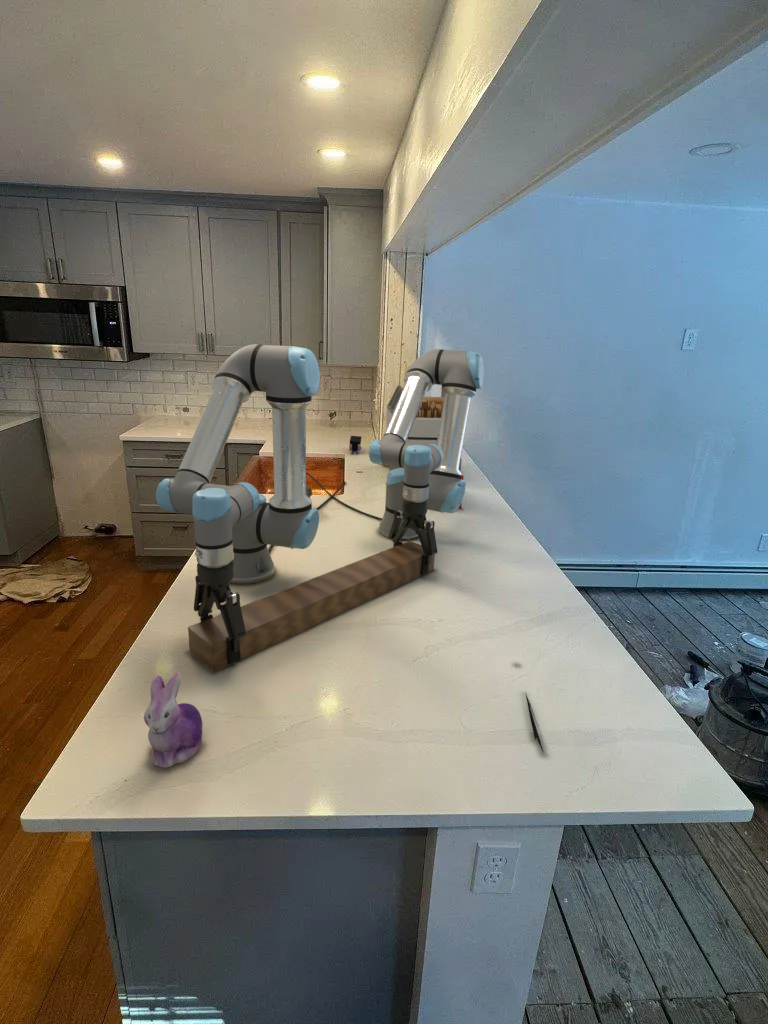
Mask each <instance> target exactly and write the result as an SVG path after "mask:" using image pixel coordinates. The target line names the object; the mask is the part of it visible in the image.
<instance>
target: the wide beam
mask: <svg viewBox="0 0 768 1024" xmlns="http://www.w3.org/2000/svg"><path fill="white" fill-rule="evenodd" d="M422 554H424V551H423V549H422V546H421V543H420V544H419V543H417V542H414V541H412V540H407V541H406V542H403V543H402V544H400V545H398V546H395V547H393V546H392V547H390V548H388V549H384V550H383V551H380V552H378V553H375V554H372V555H370V556H367V557H363V558H362V559H359V560H357V561H354V562H351V563H350V564H346V565H344V566H342V567H339V568H336V569H333V570H331V571H329V572H326V573H324V574H323V573H322V574H321V575H318V576H316V577H313V578H310V579H308V580H306V581H303V582H300V583H298V584H295V585H292V586H290V587H287V588H285V589H283V590H279V591H277V592H275V593H273V594H269V595H267V596H264V597H261V598H259V599H257V600H254V601H252V602H249V603H247V604H243V605H240V606H241V611H242V616H243V620H244V625H245V630H246V636H245V637H243V638H240V656H241V660H243V659H245V658H247V657H249V656H251V655H254V654H256V653H258V652H261V651H263V650H265V649H267V648H269V647H271V646H273V645H275V644H278V643H280V642H282V641H285V640H287V639H288V638H291V637H293V636H295V635H297V634H300V633H301V632H304V631H306V630H307V629H310V628H312V627H314V626H317V625H318V624H321V623H323V622H325V621H327V620H330V619H332V618H333V617H336V616H338V615H340V614H342V613H344V612H347V611H349V610H351V609H353V608H356V607H358V606H359V605H361V604H364V603H366V602H368V601H370V600H372V599H374V598H377V597H380V596H381V595H383V594H385V593H387V592H388V593H389V592H390V591H392V590H394V589H396V588H398V587H401V586H402V585H405V584H407V583H409V582H411V581H413V580H416V579H417V578H420V577H422V576H423V575H421V561H422ZM435 556H436V554H434V555H432V556H431V564H430V565H429V569H428V573H431V572H433V571H434V568H435V558H436V557H435ZM187 635H188V636H187V637H188V645H189V646H188V648H189V653H190V654H191V655H192V656H193V657H194V658H196V659H197V660H198V661H200V662H201V663H202V664H203V665H204V666H205V667H207V668H208V669H209V670H210V671H211V672H213V673H215V672H218V671H219V670H221V669H224V668H226V667H229V666H231V665H230V664H228V653H227V640H226V638H227V637H229V635H228V632H227V630H226V627H225V624H224V621H223V618H222V615H221V613H220V614H218V615H215V616H213V618H210V619H208V620H205V621H202V622H201V621H199V622H198V623H195V624H192V625H190V626H187Z"/></svg>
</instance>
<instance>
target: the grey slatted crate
mask: <svg viewBox="0 0 768 1024" xmlns="http://www.w3.org/2000/svg"><path fill="white" fill-rule="evenodd" d="M403 388H404V387H402V385H399V384H398V385H397V386H396V388H395V390H394V392H393V394H392V395H391V398H390V400H389V402H388V404H387V405H386V413H385V414H386V415H385V423H386V428H387V426H388V424H389V421H390V419H391V417H392V414H393V412H394V409H395V407H396V405H397V402H398V400H399V397H400V395H401V393H402V390H403ZM440 393H441V394H440V396H425V397H424V399H423V402H422V404H421V407H420V409H419V411H418V414H417V416H416V419H415V421H414V424H413V426H412V429H411V431H410V434H409V436H408V439H407V441H406V444H412V445H424V446H425V445H428V444H434V445H437V440H438V434H439V428H440V421H441V415H442V409H443V403H444V397H445V394H444V393H443V391H442V390H441V392H440ZM386 428H385V429H386ZM462 453H463V450H462V451H461V454H462ZM462 461H463V460H462V456H461V457H460V463H459V471H460V472H462ZM383 467H388V468H389V472H390V471H391V470H393V469H397V468H400V467H393V466H385V465H384V466H383Z"/></svg>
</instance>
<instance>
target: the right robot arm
mask: <svg viewBox="0 0 768 1024" xmlns="http://www.w3.org/2000/svg"><path fill="white" fill-rule="evenodd" d="M484 369H485V368H484V360H483V356H482V355H481V353H480V352H476V351H471V350H453V349H443V348H435V349H431V350H429V351H426V352H424V353H423V354H422V355H420V356H419V357H418V358H416V359H415V360H414V361H413V362H412V363H411V365H410V366H409V367H408V369H407V371H406V372H405V375H404V385H403V387H402V388H403V390H402V393H401V395H400V397H399V400H398V402H397V405H396V407H395V409H394V412H393V414H392V417H391V419H390V421H389V424H388V426H387V425H386V426H387V428H385V431H384V433H383V436H382V438H381V439H374V440H373V441H372V442H371V443H370V445H369V449H368V457H369V461H370V462H371V463H372V464H376V465H379V466H383V467H387V466H393V467H400V468H397V469H393V470H391V471H390V470H389V472H388V473H387V475H386V482H385V504H384V505H385V507H384V508H385V509H384V513H383V515H382V517H379V516H376V515H372V514H370V513H368V512H364V511H363V510H359V509H357V508H355V507H354V506H351V505H348V504H347V503H345V502H343V501H341V500H340V499H338V498H336V497H335V495H334V496H332V495H333V494H331V493H330V492H329V491H328V490H327V489H326V488H325V487H324V486H323V485H322V484H321V483H320V482H319V481H318V480H317V479H316V478H315V477H314V476H312V475H311V474H309V473H308V472H307V471H306V476H309V477H310V478H311V479H312V480H313V481H314V482H315V483H316V484H317V485H318V486H319V487H320V488H321V489H322V490H323V491H324V492H325V493H326V494H327V495H328V496H330V497H331V496H332V498H331V499H334V500H335V501H337V502H338V503H340V504H341V505H343V506H345V507H346V508H348V509H351V510H352V511H355V512H357V513H359V514H362V515H365V516H368V517H370V518H373V519H377V520H380V521H381V522H379V527H378V533H379V534H380V535H381V536H382V537H385V538H387V539H388V540H391V541H392V548H393V547H395V546H398V545H400V544H403V543H404V542H403V541H412V540H415V539H418V540H419V543H420V545H421V546H422V549H423V551H424V554H422V561H421V575H422V576H425V575H426V574H428V573H429V572H428V569H429V565H430V564H431V556H432V555H434V554H435V555H436V554H438V544H437V540H436V533H435V525H436V523H435V521H434V520H431V521H430V520H428V519H427V513H428V511H433V512H438V513H447V514H453V513H456V512H457V511H458V510H459V506H460V504H461V502H462V503H463V499H464V496H465V492H466V486H467V484H466V481H465V479H463V480H461V479H462V475H463V474H462V473H461V472H462V471H461V472H460V471H459V463H460V457H461V458H462V453H461V451H462V452H463V445H464V438H465V433H466V427H467V421H468V414H469V407H470V403H471V399H472V398H473V397H475V395H476V394H477V390H479V389H482V388H483V384H484V377H485V375H484V374H485V372H484V371H485V370H484ZM434 385H438V386H441V387H440V388H441V392H442V391H443V393H444V394H445V397H444V403H443V409H442V415H441V421H440V428H439V434H438V440H437V445H434V444H428V445H425V446H424V445H412V444H406V441H407V439H408V436H409V434H410V431H411V429H412V426H413V424H414V421H415V419H416V416H417V414H418V411H419V409H420V407H421V404H422V402H423V399H424V397H426V394H427V393H428V392H429V391H430V390H431V389H432V387H433V386H434ZM384 465H385V466H384Z"/></svg>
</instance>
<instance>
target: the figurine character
mask: <svg viewBox="0 0 768 1024" xmlns="http://www.w3.org/2000/svg"><path fill="white" fill-rule="evenodd" d="M362 438H363V437H362V435H361V436H360V435H350V438H349V446H348V448H349V449H348V450H349V451H351V455H352V454H354V453H356V455H358V454H359V451H361V450H362V446H361V445H362V444H361V443H362Z"/></svg>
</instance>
